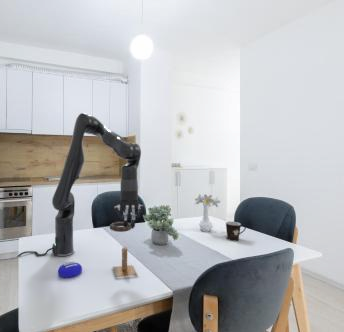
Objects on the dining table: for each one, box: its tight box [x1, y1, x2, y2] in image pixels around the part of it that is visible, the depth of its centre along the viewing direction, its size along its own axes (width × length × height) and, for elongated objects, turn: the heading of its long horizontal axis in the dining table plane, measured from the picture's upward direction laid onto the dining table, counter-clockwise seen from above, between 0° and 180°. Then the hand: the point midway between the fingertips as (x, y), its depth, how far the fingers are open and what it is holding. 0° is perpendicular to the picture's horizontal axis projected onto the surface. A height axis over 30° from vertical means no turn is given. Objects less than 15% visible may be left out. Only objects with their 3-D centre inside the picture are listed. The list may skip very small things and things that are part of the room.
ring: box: [109, 221, 132, 233], centre depth 106 cm, size 10×10×2 cm
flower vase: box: [194, 193, 221, 232], centre depth 170 cm, size 13×18×25 cm
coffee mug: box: [225, 220, 246, 242], centre depth 152 cm, size 12×9×10 cm
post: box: [112, 247, 138, 278], centre depth 109 cm, size 9×9×11 cm
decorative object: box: [57, 260, 83, 279], centre depth 107 cm, size 10×6×10 cm
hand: (129, 228), depth 106 cm, fingers closed on ring, 2 cm apart
